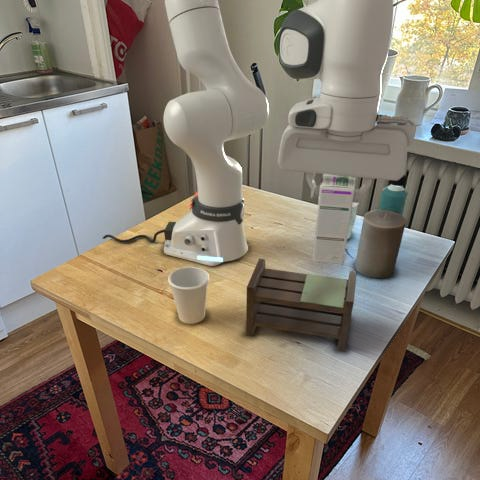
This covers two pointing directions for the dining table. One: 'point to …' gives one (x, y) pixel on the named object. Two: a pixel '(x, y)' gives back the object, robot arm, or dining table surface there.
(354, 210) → the white cup
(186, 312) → the dixie cup
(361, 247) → the pillar candle
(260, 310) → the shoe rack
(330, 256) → the syrup box
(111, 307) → the dining table surface
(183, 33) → the robot arm
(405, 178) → the beverage bottle
